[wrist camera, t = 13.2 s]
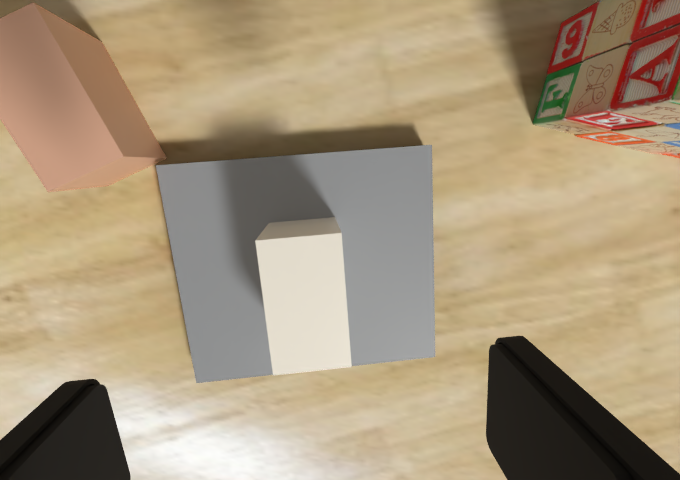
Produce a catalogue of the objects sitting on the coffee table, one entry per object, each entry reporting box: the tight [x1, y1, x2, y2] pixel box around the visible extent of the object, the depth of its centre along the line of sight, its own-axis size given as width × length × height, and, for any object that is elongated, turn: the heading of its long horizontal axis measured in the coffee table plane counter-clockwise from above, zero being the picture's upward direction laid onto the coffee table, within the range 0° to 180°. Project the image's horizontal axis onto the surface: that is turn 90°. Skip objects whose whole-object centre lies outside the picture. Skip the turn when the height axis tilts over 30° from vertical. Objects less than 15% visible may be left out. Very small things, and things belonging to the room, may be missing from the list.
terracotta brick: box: [0, 2, 167, 192], centre depth 18 cm, size 7×4×5 cm, turn 24°
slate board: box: [156, 145, 435, 383], centre depth 22 cm, size 14×16×2 cm
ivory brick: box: [255, 217, 352, 375], centre depth 19 cm, size 7×4×5 cm, turn 4°
